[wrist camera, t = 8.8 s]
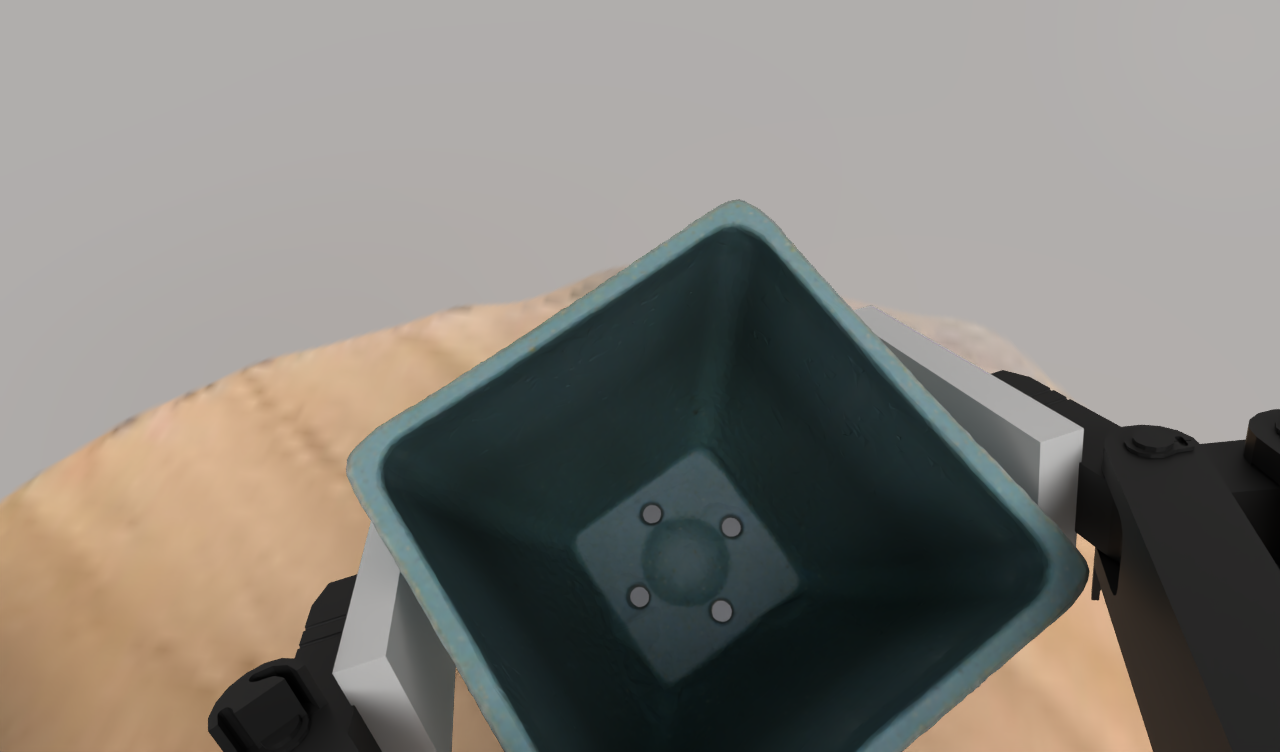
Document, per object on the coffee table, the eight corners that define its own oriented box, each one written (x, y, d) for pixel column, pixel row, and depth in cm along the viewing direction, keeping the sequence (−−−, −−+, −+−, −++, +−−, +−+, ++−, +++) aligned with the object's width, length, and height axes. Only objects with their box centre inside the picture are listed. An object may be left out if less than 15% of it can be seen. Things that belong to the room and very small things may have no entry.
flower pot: (467, 526, 20) (326, 453, 11) (709, 357, 21) (744, 183, 13) (646, 813, 17) (637, 996, 9) (906, 597, 19) (1109, 576, 10)
